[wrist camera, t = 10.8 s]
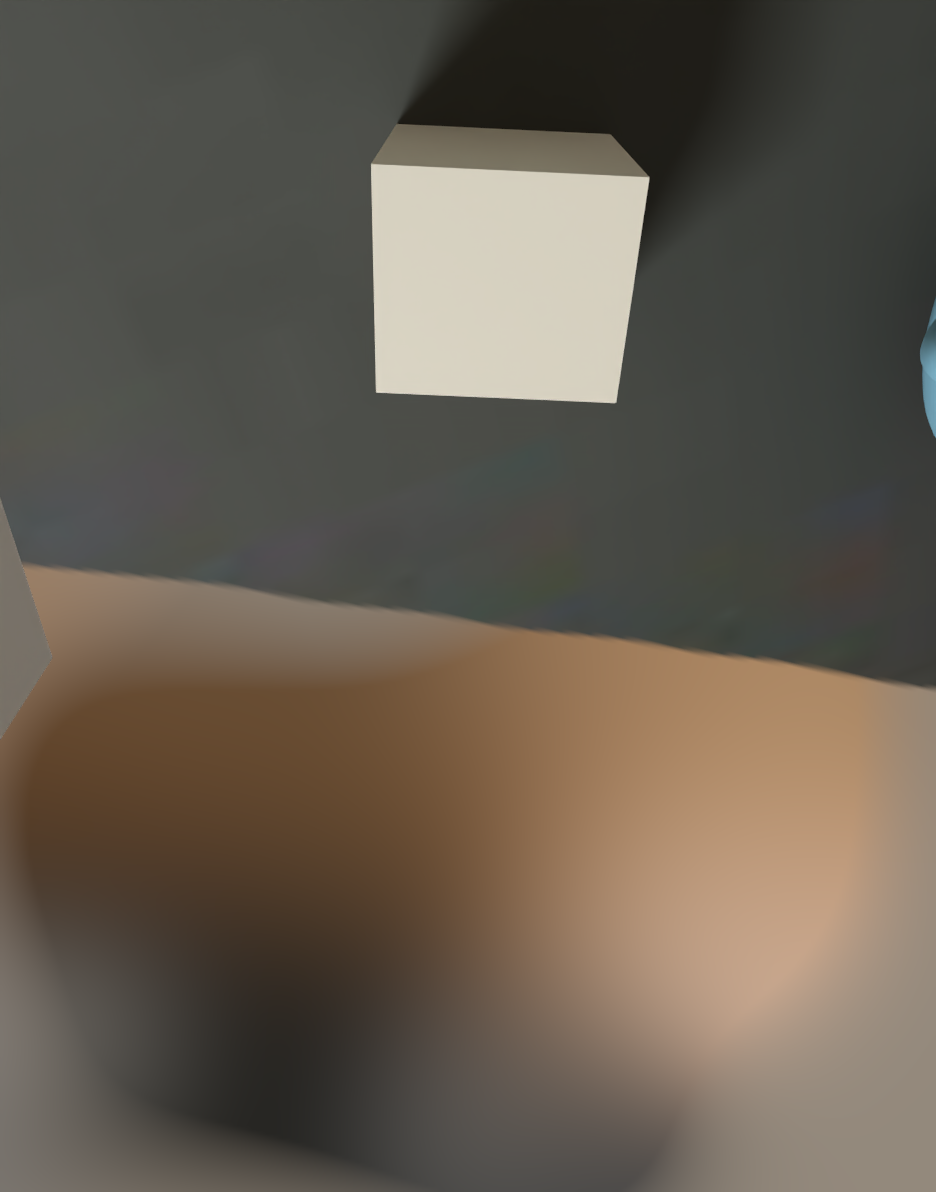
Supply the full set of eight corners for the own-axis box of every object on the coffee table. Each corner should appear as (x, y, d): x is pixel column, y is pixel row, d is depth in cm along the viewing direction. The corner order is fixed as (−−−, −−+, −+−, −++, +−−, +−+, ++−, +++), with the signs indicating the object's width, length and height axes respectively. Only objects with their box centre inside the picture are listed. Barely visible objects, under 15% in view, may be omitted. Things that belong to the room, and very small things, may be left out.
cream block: (397, 309, 31) (375, 392, 25) (396, 123, 28) (370, 164, 21) (587, 317, 32) (615, 402, 25) (610, 133, 28) (649, 177, 22)
